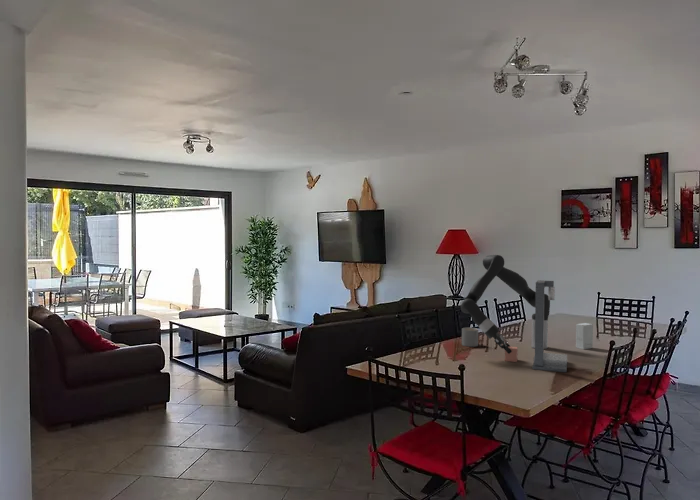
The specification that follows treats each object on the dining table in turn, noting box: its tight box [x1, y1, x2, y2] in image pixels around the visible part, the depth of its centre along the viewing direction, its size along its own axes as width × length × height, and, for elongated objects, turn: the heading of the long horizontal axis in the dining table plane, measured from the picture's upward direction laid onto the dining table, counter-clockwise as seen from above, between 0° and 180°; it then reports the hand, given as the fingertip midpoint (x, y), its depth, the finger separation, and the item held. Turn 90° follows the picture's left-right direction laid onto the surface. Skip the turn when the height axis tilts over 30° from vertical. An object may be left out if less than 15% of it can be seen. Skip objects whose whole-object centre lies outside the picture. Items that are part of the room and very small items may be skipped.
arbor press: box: [531, 279, 568, 373], centre depth 272 cm, size 24×16×44 cm, turn 157°
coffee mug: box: [461, 327, 479, 348], centre depth 326 cm, size 13×10×10 cm
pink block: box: [504, 345, 519, 363], centre depth 283 cm, size 6×6×7 cm
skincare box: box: [575, 322, 594, 350], centre depth 316 cm, size 8×6×15 cm
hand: (511, 351), depth 284 cm, fingers closed on pink block, 5 cm apart
